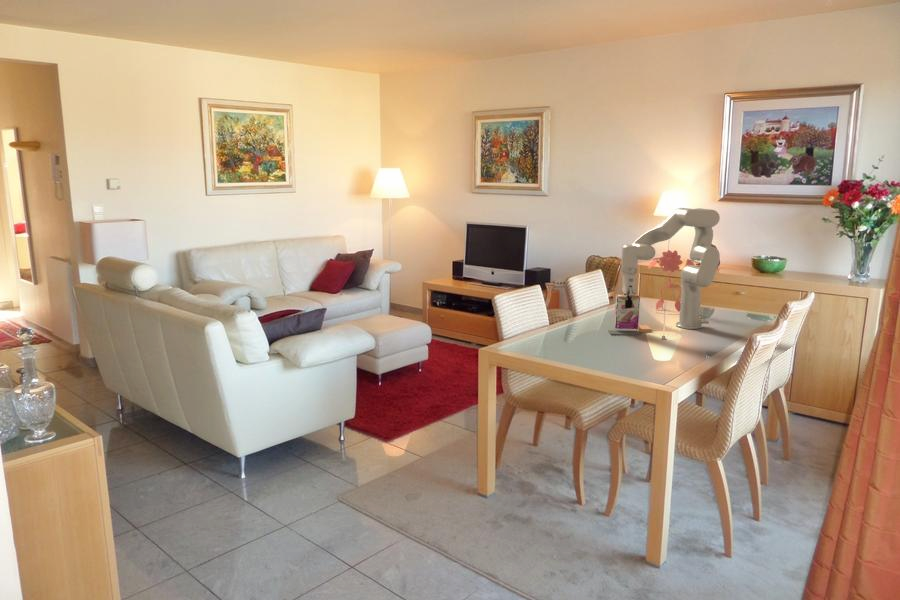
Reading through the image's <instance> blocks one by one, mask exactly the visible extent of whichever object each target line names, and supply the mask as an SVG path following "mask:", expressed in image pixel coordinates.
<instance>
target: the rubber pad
mask: <svg viewBox="0 0 900 600" xmlns="http://www.w3.org/2000/svg"><path fill="white" fill-rule="evenodd" d="M608 333H609V334H610V335H611V336H641V334H640V332H639V331H638V330H621V329H619V330H617V329H616V330H615V329H614V330H611V329H608Z"/></svg>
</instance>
